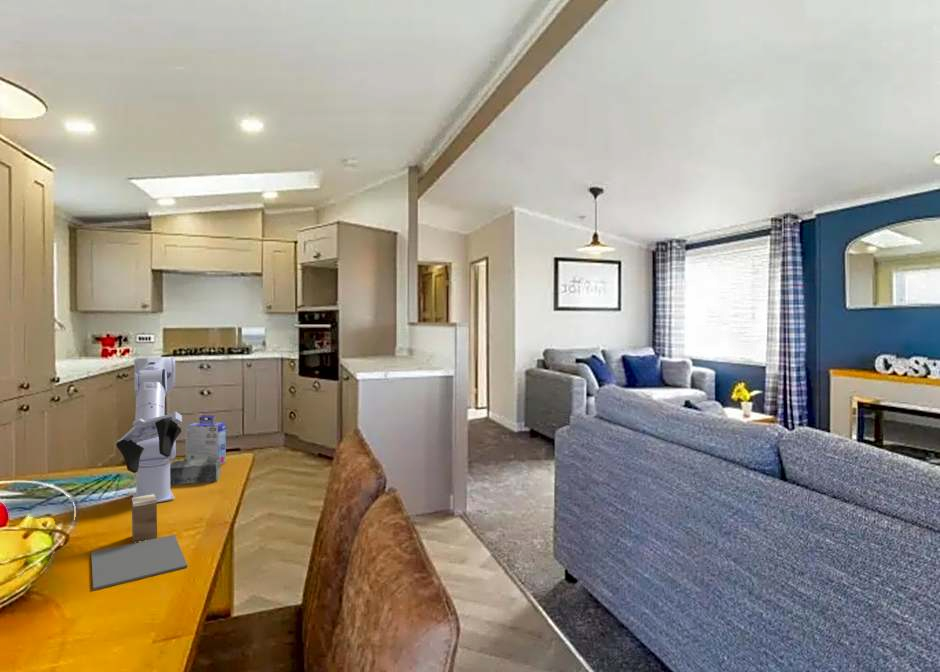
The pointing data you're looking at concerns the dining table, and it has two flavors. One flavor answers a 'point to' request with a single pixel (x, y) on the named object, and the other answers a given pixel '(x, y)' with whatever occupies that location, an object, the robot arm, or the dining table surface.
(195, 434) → the ink cartridge box
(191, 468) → the stone block
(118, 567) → the mat
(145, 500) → the walnut block
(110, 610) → the dining table surface
